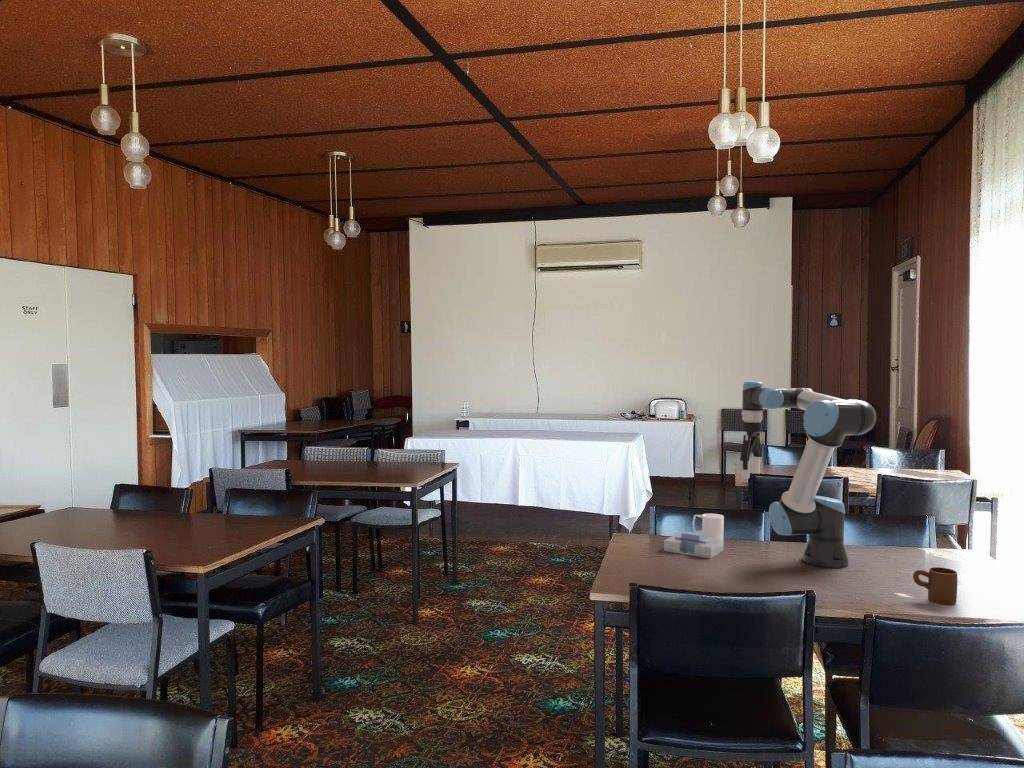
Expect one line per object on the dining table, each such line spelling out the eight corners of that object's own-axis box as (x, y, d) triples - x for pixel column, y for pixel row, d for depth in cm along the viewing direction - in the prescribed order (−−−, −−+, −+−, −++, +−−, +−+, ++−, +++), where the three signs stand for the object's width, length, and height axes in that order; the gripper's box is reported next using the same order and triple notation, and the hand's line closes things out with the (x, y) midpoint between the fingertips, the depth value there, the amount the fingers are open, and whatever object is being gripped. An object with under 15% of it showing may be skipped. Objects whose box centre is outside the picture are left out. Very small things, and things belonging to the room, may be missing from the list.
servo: (709, 551, 280) (709, 534, 280) (705, 554, 277) (705, 536, 277) (678, 547, 287) (679, 530, 287) (674, 549, 284) (675, 532, 284)
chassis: (723, 550, 283) (723, 539, 282) (710, 558, 271) (711, 547, 271) (677, 543, 293) (678, 532, 292) (663, 550, 281) (664, 540, 281)
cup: (691, 537, 303) (692, 512, 302) (722, 539, 300) (723, 514, 299) (692, 542, 295) (692, 516, 294) (723, 544, 292) (724, 518, 291)
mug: (915, 602, 225) (916, 571, 225) (908, 594, 232) (909, 564, 232) (960, 606, 222) (961, 575, 222) (952, 598, 229) (953, 568, 229)
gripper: (751, 418, 303) (750, 470, 304) (732, 423, 283) (731, 478, 284) (770, 419, 299) (769, 472, 300) (752, 424, 278) (751, 481, 279)
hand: (750, 475), depth 292 cm, fingers open, 13 cm apart
